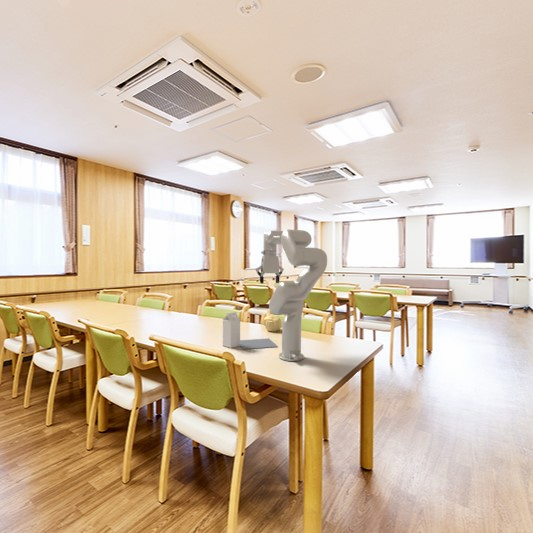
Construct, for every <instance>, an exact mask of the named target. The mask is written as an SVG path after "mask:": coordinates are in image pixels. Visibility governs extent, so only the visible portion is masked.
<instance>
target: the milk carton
mask: <svg viewBox="0 0 533 533" xmlns="http://www.w3.org/2000/svg"><path fill="white" fill-rule="evenodd" d="M240 340H241V319H240V317H239V315H238V313H237V311H234V312H227V313H226V316H224V318H223V319H222V346H223V347H227V348H229V349H232V348H235V347H241V346H240Z"/></svg>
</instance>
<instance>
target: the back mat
mask: <svg viewBox="0 0 533 533" xmlns="http://www.w3.org/2000/svg"><path fill="white" fill-rule="evenodd" d="M239 347H241V349H242V350H257V349H270V348H278V345H277V344H276V343H275V342H274V341H273V340H272V339H270V337H269V338H253V339H240V346H239Z"/></svg>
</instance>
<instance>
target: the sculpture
mask: <svg viewBox="0 0 533 533" xmlns="http://www.w3.org/2000/svg"><path fill="white" fill-rule="evenodd" d="M263 326H264V327H265V329H266V330H267V331H268V332H271V333H272V332H273V333H274V332H278V331H280V330H281V329H282V320H281V318H280V317H279V316H278V315H273V314H272V315H268V316H265V317H264V319H263Z"/></svg>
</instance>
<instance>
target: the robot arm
mask: <svg viewBox="0 0 533 533" xmlns="http://www.w3.org/2000/svg"><path fill="white" fill-rule="evenodd" d="M311 243H312V235H311V234H310V233H309V232H308V231H306V230H303V229H302V230H301V229H285V230H269V231H266V232H264V233H263V250H262V251H261V254H262V257H261V264H260V266H257V267H256V268H255V269H254V270H255V272H256V274H257V275H258V277H259V283H260V284H261V285H262V284H264V275H265V274H275V275H276V276H275V284H278V285H277V286H276V287H275V290H274V292H273V294H272V296H271V298H270V300H269V302H268V303H269V304H268V308H269V309H268V310H269V312H270V313H271V314H272V315H274V316H284V317H283V319H282V322H281V331H282V332H281V338H282V339H281V341H282V342H281V352H280V353H278V357H279V359H280V360H282V361H288V362H299V361H302V360H304V358H305V354H303V353H302V317H303V312H304V311H303V310H304V300H306V299H307V297H308V296H309V295H310V293H311V292H312V290H313V288H314V286H315V285H316V283H317V282H318V281H319V280H320V278H321V277H322V276H323V274H324V273H325V272H326V269H327V265H328V256H327V253H326V252H325V251H324V250H323V249H322V248H318V247H309V246H310V244H311ZM277 245H281V248H283V251H284V253H285V256H286V258H287V260H288V262H289V263H290V264H291V266H294V267H306V268H304V269H303V270H302V271H301V272H300V273H299V275H298V276H297V278H296V279H295V280H286V281H282V282H280V277H281V275H282V274H283V271H284V270H285V269H284V268H283V267H282V266H280V261H279V256H278V254H277V250H278V249H277V247H278V246H277Z"/></svg>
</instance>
